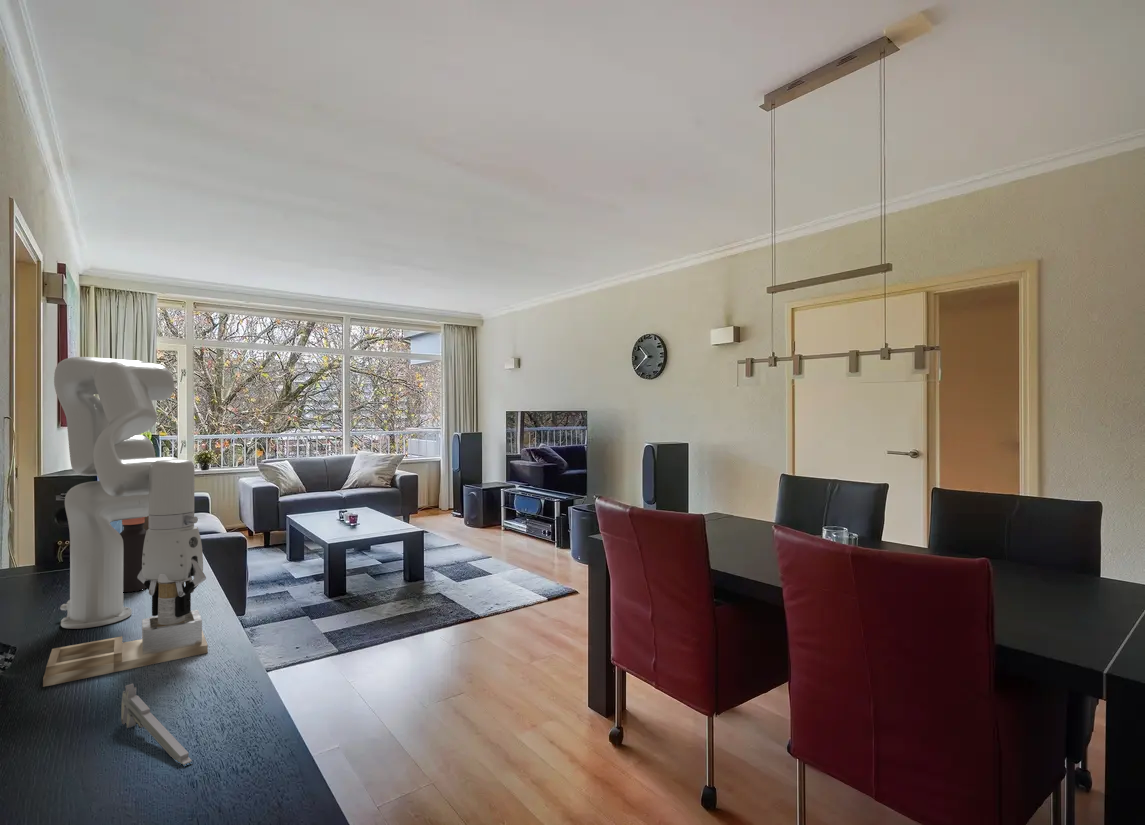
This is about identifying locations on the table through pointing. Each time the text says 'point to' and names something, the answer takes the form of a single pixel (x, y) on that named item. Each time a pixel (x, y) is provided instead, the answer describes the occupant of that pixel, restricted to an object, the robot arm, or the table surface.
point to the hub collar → (171, 634)
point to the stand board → (107, 658)
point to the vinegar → (132, 553)
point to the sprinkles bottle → (167, 602)
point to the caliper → (150, 724)
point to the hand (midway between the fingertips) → (171, 613)
